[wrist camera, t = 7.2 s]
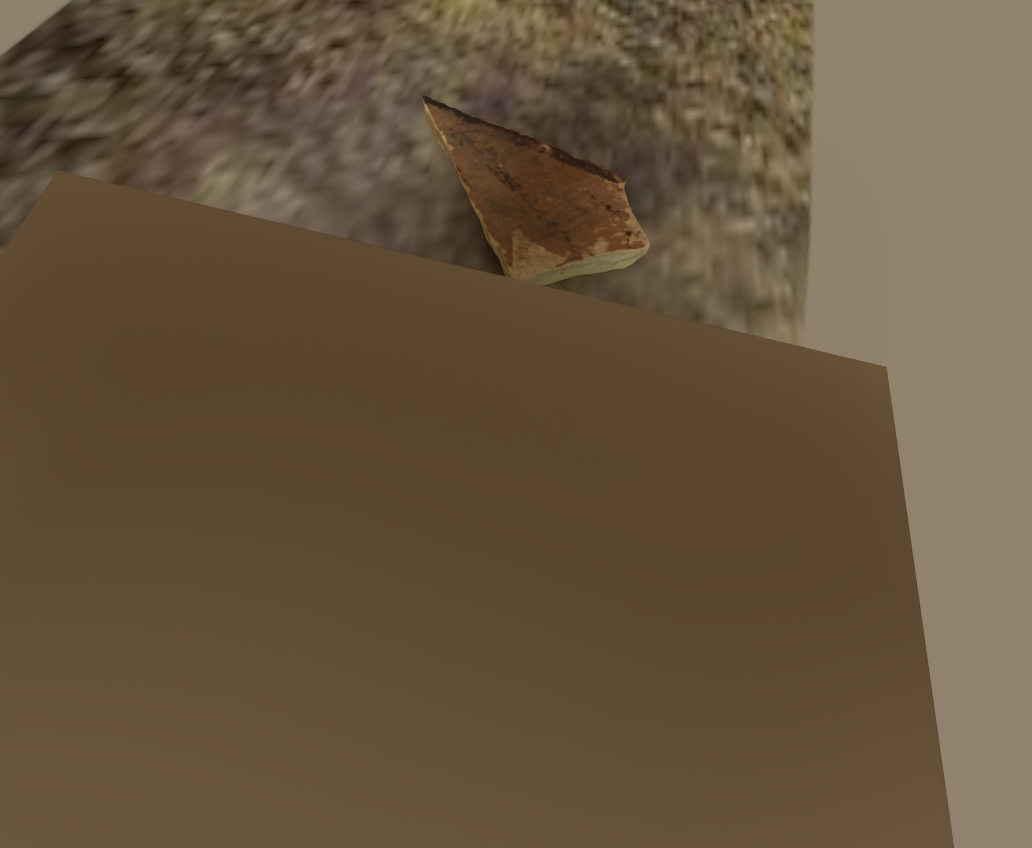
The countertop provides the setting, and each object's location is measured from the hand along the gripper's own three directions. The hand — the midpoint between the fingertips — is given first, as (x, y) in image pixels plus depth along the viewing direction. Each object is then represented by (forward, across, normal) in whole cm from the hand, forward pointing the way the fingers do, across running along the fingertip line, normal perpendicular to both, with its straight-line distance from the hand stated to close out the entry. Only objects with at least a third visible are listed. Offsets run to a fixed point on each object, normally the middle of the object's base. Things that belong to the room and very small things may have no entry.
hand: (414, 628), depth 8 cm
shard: (+24, -1, -5) cm, 24 cm away
